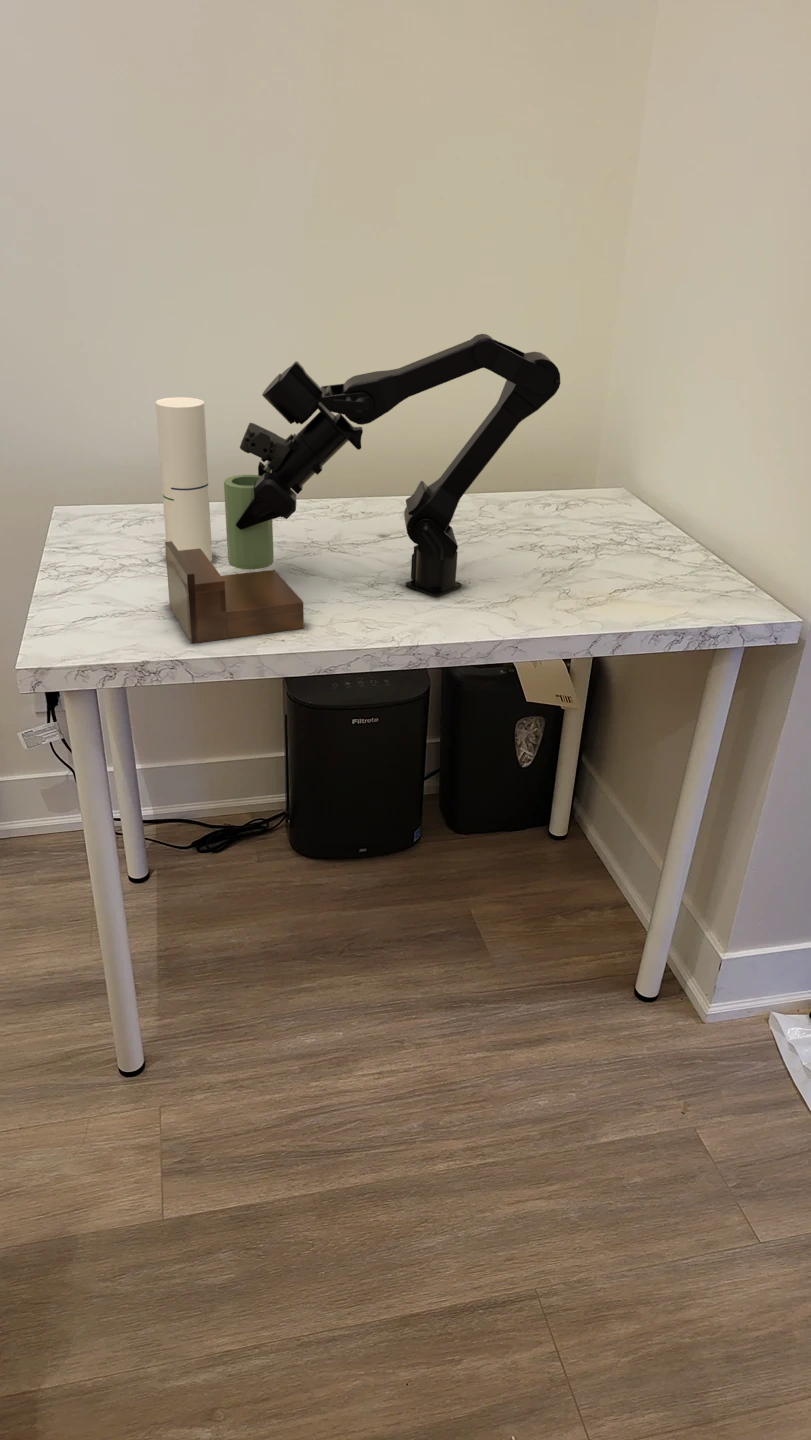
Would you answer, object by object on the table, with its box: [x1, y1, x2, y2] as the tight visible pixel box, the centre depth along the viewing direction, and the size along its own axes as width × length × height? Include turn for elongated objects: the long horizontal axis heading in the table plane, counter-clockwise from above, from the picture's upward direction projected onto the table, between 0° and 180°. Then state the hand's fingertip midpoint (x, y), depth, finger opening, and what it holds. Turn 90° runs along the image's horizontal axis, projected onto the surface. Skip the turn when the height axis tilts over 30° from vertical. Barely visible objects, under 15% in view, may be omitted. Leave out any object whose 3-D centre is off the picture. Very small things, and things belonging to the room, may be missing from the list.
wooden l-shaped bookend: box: [164, 541, 305, 644], centre depth 146 cm, size 16×13×10 cm
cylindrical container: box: [155, 396, 213, 563], centre depth 162 cm, size 7×7×25 cm
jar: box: [223, 474, 274, 571], centre depth 155 cm, size 7×7×12 cm
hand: (239, 519), depth 154 cm, fingers closed on jar, 7 cm apart
